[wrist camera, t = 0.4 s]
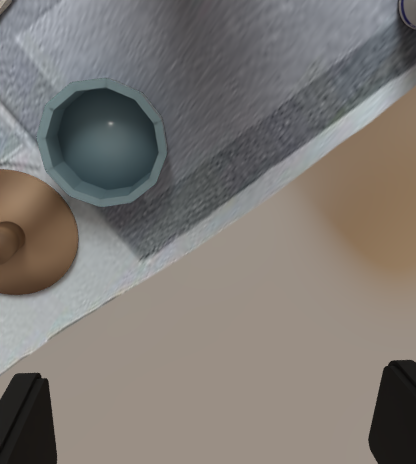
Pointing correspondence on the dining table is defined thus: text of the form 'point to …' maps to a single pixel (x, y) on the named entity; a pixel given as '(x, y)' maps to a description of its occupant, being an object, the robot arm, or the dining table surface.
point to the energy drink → (408, 12)
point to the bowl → (102, 142)
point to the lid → (33, 234)
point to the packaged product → (4, 5)
